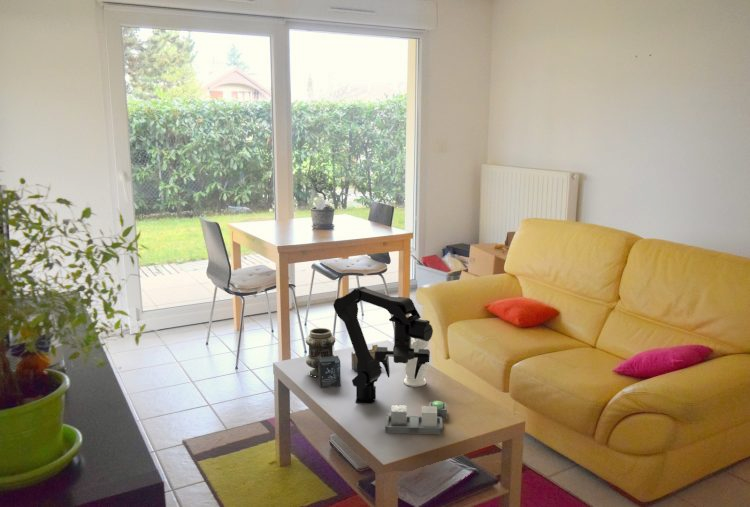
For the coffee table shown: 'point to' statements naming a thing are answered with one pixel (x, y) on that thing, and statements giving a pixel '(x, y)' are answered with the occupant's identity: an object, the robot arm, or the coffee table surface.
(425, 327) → the robot arm
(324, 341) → the ornate grey-brown vase
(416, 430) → the pallet
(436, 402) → the button
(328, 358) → the box
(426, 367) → the cherub figurine
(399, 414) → the block
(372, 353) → the architectural model on board
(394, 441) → the coffee table surface
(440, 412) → the switch box
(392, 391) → the coffee table surface
